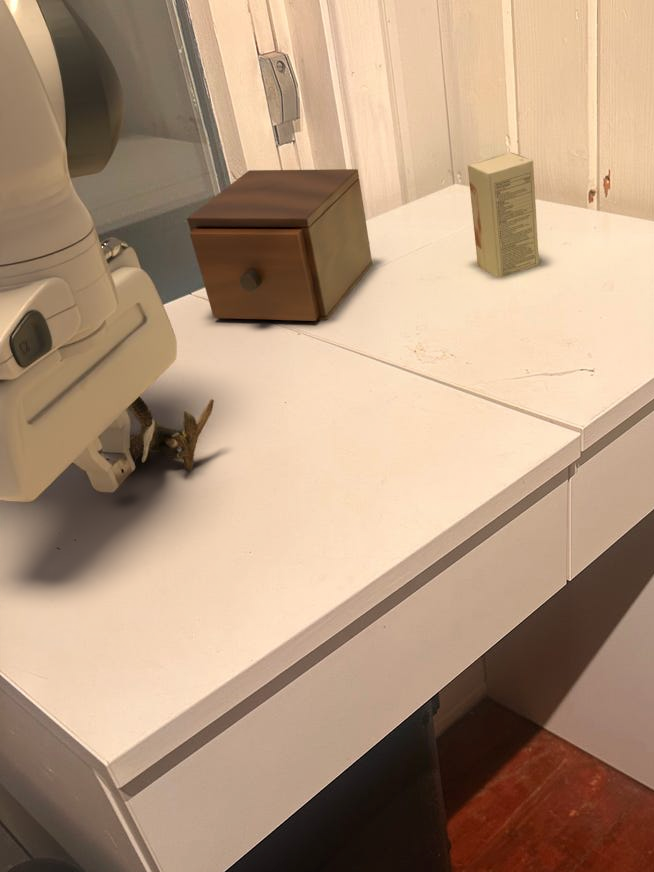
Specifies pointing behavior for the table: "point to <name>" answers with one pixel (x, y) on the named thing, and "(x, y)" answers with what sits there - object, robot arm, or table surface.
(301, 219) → the cabinet
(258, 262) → the drawer
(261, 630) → the table surface
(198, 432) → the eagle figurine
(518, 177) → the tall printed carton
